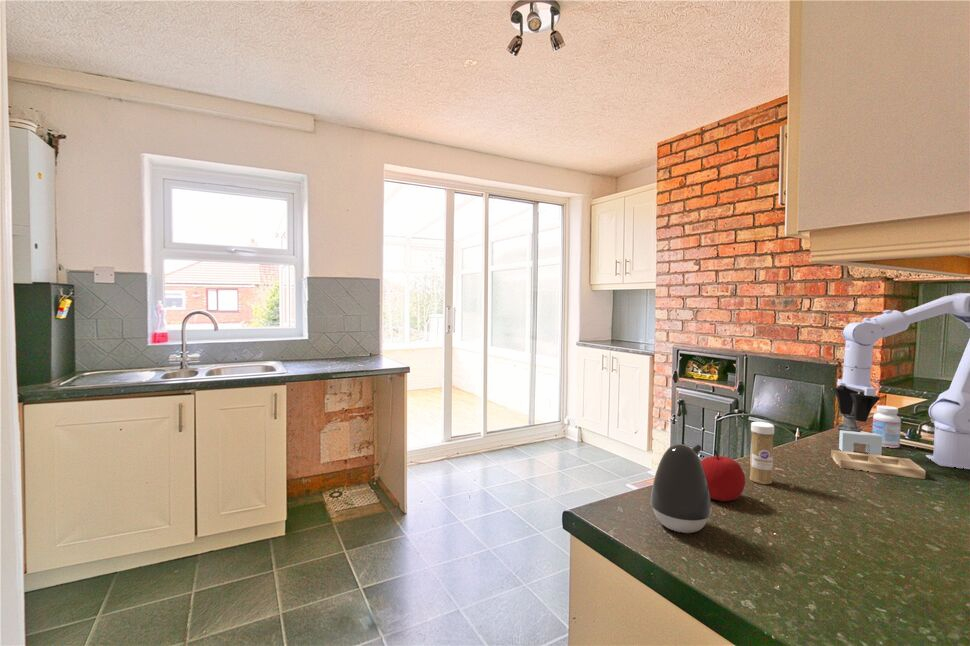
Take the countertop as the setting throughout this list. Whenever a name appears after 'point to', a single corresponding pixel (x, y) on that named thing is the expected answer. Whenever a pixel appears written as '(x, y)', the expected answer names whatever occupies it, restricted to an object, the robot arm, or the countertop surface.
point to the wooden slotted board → (878, 464)
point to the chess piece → (849, 423)
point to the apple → (723, 477)
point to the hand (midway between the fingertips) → (852, 417)
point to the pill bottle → (887, 426)
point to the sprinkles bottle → (761, 452)
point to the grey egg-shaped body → (681, 490)
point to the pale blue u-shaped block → (860, 441)
